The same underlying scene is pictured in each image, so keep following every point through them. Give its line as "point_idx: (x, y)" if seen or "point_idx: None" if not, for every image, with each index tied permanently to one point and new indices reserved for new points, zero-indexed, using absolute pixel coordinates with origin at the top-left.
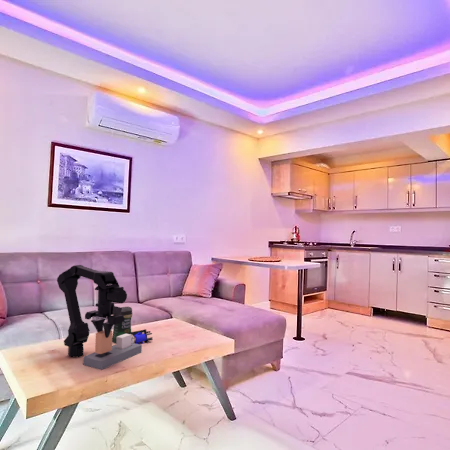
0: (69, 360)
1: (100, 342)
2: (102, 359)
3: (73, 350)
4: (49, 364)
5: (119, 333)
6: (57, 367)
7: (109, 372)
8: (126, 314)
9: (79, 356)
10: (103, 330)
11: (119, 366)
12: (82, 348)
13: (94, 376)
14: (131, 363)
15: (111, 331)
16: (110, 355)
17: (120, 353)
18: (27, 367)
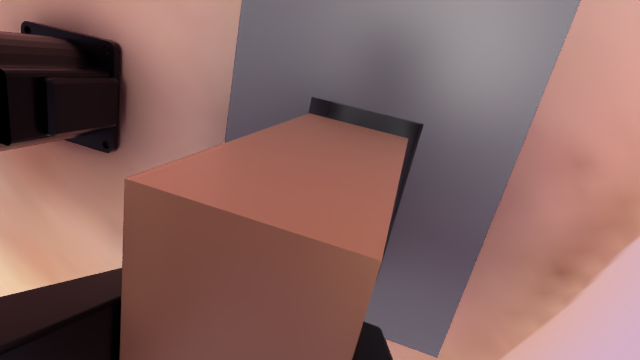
0: (88, 150)
1: None
2: (416, 315)
3: (31, 144)
4: (50, 234)
5: None
6: (119, 265)
7: (498, 286)
8: None
9: (109, 119)
10: (123, 291)
11: (525, 159)
12: (56, 94)
13: (423, 357)
14: (627, 54)
15: (372, 278)
16: (437, 203)
17: (530, 112)
18: (4, 288)
